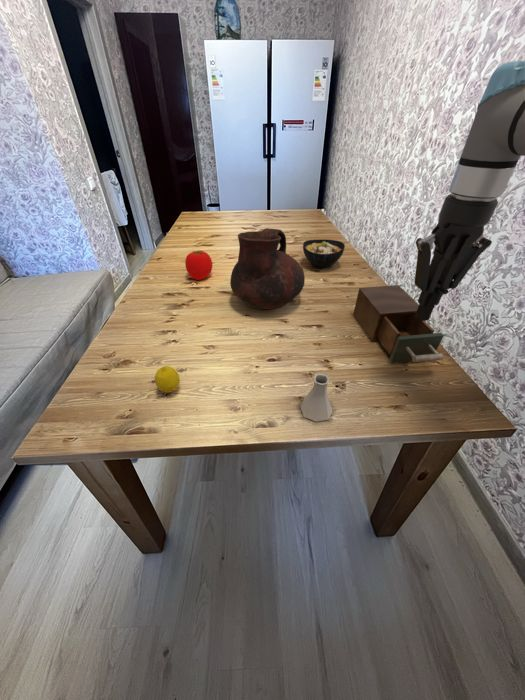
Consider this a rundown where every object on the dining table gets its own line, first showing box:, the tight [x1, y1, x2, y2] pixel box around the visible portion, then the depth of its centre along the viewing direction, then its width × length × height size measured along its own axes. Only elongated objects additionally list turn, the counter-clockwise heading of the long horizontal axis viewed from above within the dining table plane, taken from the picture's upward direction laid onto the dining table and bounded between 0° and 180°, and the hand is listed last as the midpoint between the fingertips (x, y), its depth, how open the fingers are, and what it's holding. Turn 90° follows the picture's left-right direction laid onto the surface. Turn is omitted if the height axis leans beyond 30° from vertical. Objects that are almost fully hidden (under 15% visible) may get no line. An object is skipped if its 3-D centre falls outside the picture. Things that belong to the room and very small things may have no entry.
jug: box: [229, 227, 306, 310], centre depth 94 cm, size 25×25×25 cm
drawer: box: [376, 313, 445, 364], centre depth 76 cm, size 19×12×8 cm, turn 7°
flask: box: [300, 373, 333, 423], centre depth 62 cm, size 7×7×10 cm
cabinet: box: [352, 284, 419, 343], centre depth 86 cm, size 15×13×10 cm
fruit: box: [154, 365, 181, 393], centre depth 67 cm, size 6×6×8 cm
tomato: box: [184, 250, 214, 281], centre depth 113 cm, size 10×11×11 cm
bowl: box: [302, 239, 346, 270], centre depth 121 cm, size 17×17×10 cm
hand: (421, 316), depth 61 cm, fingers closed
